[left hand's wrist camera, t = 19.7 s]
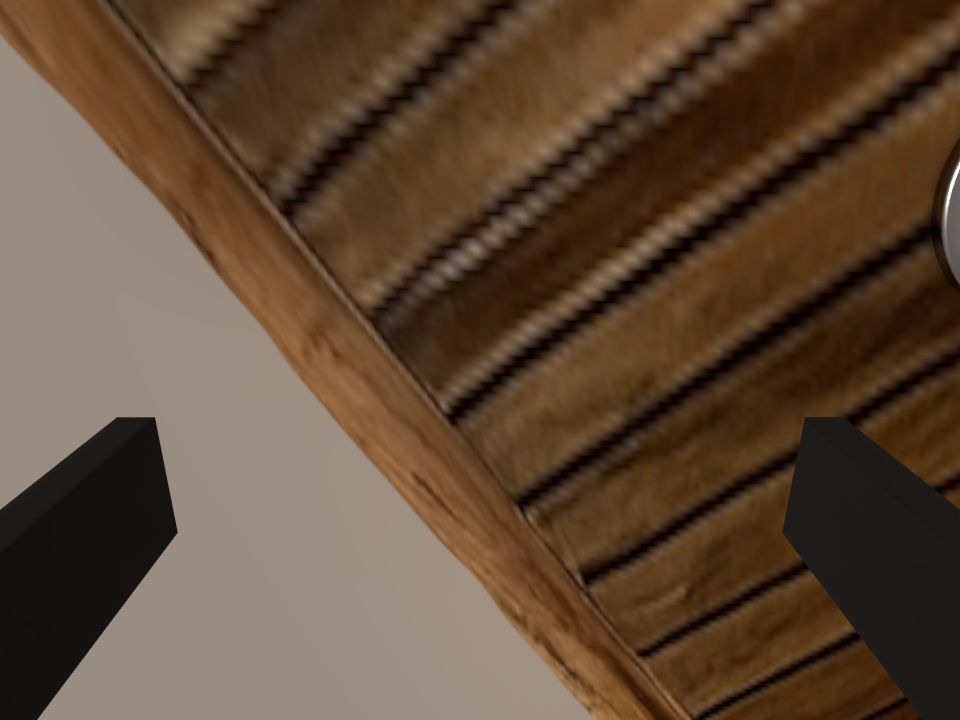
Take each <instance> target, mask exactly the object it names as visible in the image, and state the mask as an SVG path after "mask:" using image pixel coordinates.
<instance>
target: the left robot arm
mask: <svg viewBox="0 0 960 720" xmlns="http://www.w3.org/2000/svg"><path fill="white" fill-rule="evenodd" d="M931 229H932V240H933V246H934V250H935V254H936V257H937V260H938V262H939V265H940V267H941V269H942V271H943V273H944V275H945V276H946V278H947V279H948V280H949V282H950V283H951V284H952V286H953V287H954V288H955V289H956V290H957V291H958V292H959V293H960V138H959V140H958V141H957V143H956V144H955V146H954V148H953V150H952V152H951V153H950V155H949V157H948V159H947V161H946V164H945V166H944V168H943V170H942V173H941V176H940V178H939V181H938V184H937V188H936V192H935V196H934V201H933V207H932V218H931ZM177 533H178V531H177V527H176V521H175V516H174V511H173V506H172V501H171V496H170V491H169V486H168V481H167V476H166V471H165V466H164V461H163V456H162V451H161V446H160V441H159V436H158V431H157V426H156V420H155V418H154V417H117V418H116V419H114V420H113V421H112V422H111V423H109V424H108V425H107V426H105V427H104V428H103V429H102V430H100V431H99V432H98V433H97V434H95V435H94V436H93V437H92V438H90V439H89V440H88V441H87V442H85V443H84V444H83V445H82V446H80V447H79V448H78V449H76V450H75V451H74V452H73V453H71V454H70V455H69V456H68V457H66V458H65V459H64V460H63V461H61V462H60V463H59V464H57V465H56V466H55V467H54V468H52V469H51V470H50V471H49V472H47V473H46V474H45V475H44V476H42V477H41V478H40V479H38V480H37V481H36V482H35V483H33V484H32V485H31V486H30V487H28V488H27V489H26V490H25V491H23V492H22V493H21V494H20V495H18V496H17V497H16V498H14V499H13V500H12V501H11V502H9V503H8V504H7V505H6V506H4V507H3V508H2V509H1V510H0V720H37V719H38V718H39V717H40V715H41V714H42V713H43V711H44V710H45V709H46V707H47V706H48V705H49V703H50V702H51V701H52V699H53V698H54V697H55V695H56V694H57V693H58V691H59V690H60V689H61V687H62V686H63V685H64V683H65V682H66V681H67V679H68V678H69V677H70V675H71V674H72V673H73V671H74V670H75V669H76V667H77V666H78V665H79V663H80V662H81V661H82V659H83V658H84V657H85V655H86V654H87V653H88V651H89V650H90V649H91V647H92V646H93V645H94V643H95V642H96V641H97V639H98V638H99V637H100V635H101V634H102V633H103V631H104V630H105V629H106V627H107V626H108V625H109V623H110V622H111V621H112V619H113V618H114V617H115V615H116V614H117V613H118V611H119V610H120V609H121V607H122V606H123V605H124V603H125V602H126V601H127V599H128V598H129V597H130V595H131V594H132V593H133V591H134V590H135V589H136V587H137V586H138V585H139V583H140V582H141V581H142V579H143V578H144V577H145V575H146V574H147V573H148V571H149V570H150V569H151V567H152V566H153V565H154V563H155V562H156V561H157V559H158V558H159V557H160V555H161V554H162V553H163V551H164V550H165V549H166V547H167V546H168V545H169V544H170V542H171V541H172V540H173V538H174V537H175V536H176V534H177ZM782 533H783V534H784V536H785V537H786V538H787V540H788V541H789V542H790V544H791V545H792V546H793V548H794V549H795V550H796V551H797V553H798V554H799V555H800V557H801V558H802V559H803V561H804V562H805V563H806V565H807V566H808V567H809V569H810V570H811V571H812V573H813V574H814V575H815V577H816V578H817V579H818V581H819V582H820V583H821V585H822V586H823V587H824V589H825V590H826V591H827V593H828V594H829V595H830V597H831V598H832V599H833V601H834V602H835V603H836V605H837V606H838V607H839V609H840V610H841V611H842V613H843V614H844V615H845V617H846V618H847V619H848V621H849V622H850V623H851V625H852V626H853V627H854V629H855V630H856V631H857V633H858V634H859V635H860V637H861V638H862V639H863V641H864V642H865V643H866V645H867V646H868V647H869V649H870V650H871V651H872V653H873V654H874V655H875V657H876V658H877V659H878V661H879V662H880V663H881V665H882V666H883V667H884V669H885V670H886V671H887V673H888V674H889V675H890V677H891V678H892V679H893V681H894V682H895V683H896V685H897V686H898V687H899V689H900V690H901V691H902V693H903V694H904V695H905V697H906V698H907V699H908V701H909V702H910V703H911V705H912V706H913V707H914V709H915V710H916V711H917V713H918V714H919V715H920V717H921V718H922V719H923V720H960V510H959V509H958V508H957V507H956V506H954V505H953V504H952V503H951V502H949V501H948V500H947V499H946V498H944V497H943V496H942V495H940V494H939V493H938V492H937V491H935V490H934V489H933V488H932V487H930V486H929V485H928V484H927V483H925V482H924V481H923V480H922V479H920V478H919V477H918V476H916V475H915V474H914V473H913V472H911V471H910V470H909V469H908V468H906V467H905V466H904V465H903V464H901V463H900V462H899V461H897V460H896V459H895V458H894V457H892V456H891V455H890V454H889V453H887V452H886V451H885V450H884V449H882V448H881V447H880V446H879V445H877V444H876V443H875V442H873V441H872V440H871V439H870V438H868V437H867V436H866V435H865V434H863V433H862V432H861V431H860V430H858V429H857V428H856V427H855V426H853V425H852V424H851V423H849V422H848V421H847V420H846V419H844V418H843V417H805V420H804V425H803V431H802V436H801V441H800V446H799V451H798V456H797V461H796V466H795V471H794V476H793V481H792V486H791V491H790V496H789V501H788V506H787V511H786V516H785V521H784V526H783V531H782Z"/></svg>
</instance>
